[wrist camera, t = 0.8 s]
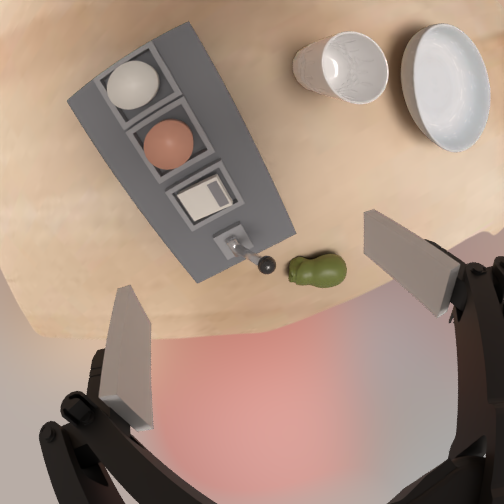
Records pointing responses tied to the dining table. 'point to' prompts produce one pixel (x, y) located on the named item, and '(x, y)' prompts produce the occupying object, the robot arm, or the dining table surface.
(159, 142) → the terracotta button
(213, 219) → the switch panel
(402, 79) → the serving bowl
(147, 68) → the cream button
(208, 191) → the rocker switch
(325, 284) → the green rounded piece
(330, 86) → the white cup
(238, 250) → the toggle lever
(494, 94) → the dining table surface
